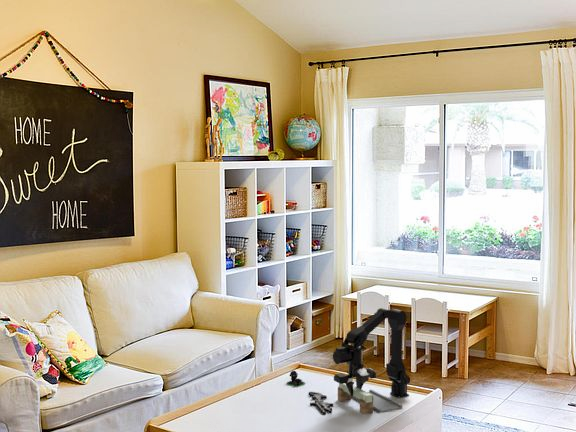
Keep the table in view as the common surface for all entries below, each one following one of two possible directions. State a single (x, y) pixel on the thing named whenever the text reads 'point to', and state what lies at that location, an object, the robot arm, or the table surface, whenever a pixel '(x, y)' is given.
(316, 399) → the nameplate
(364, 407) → the hook post
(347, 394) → the hook post
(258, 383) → the table surface
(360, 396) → the rail
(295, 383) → the toy figurine
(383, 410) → the track
